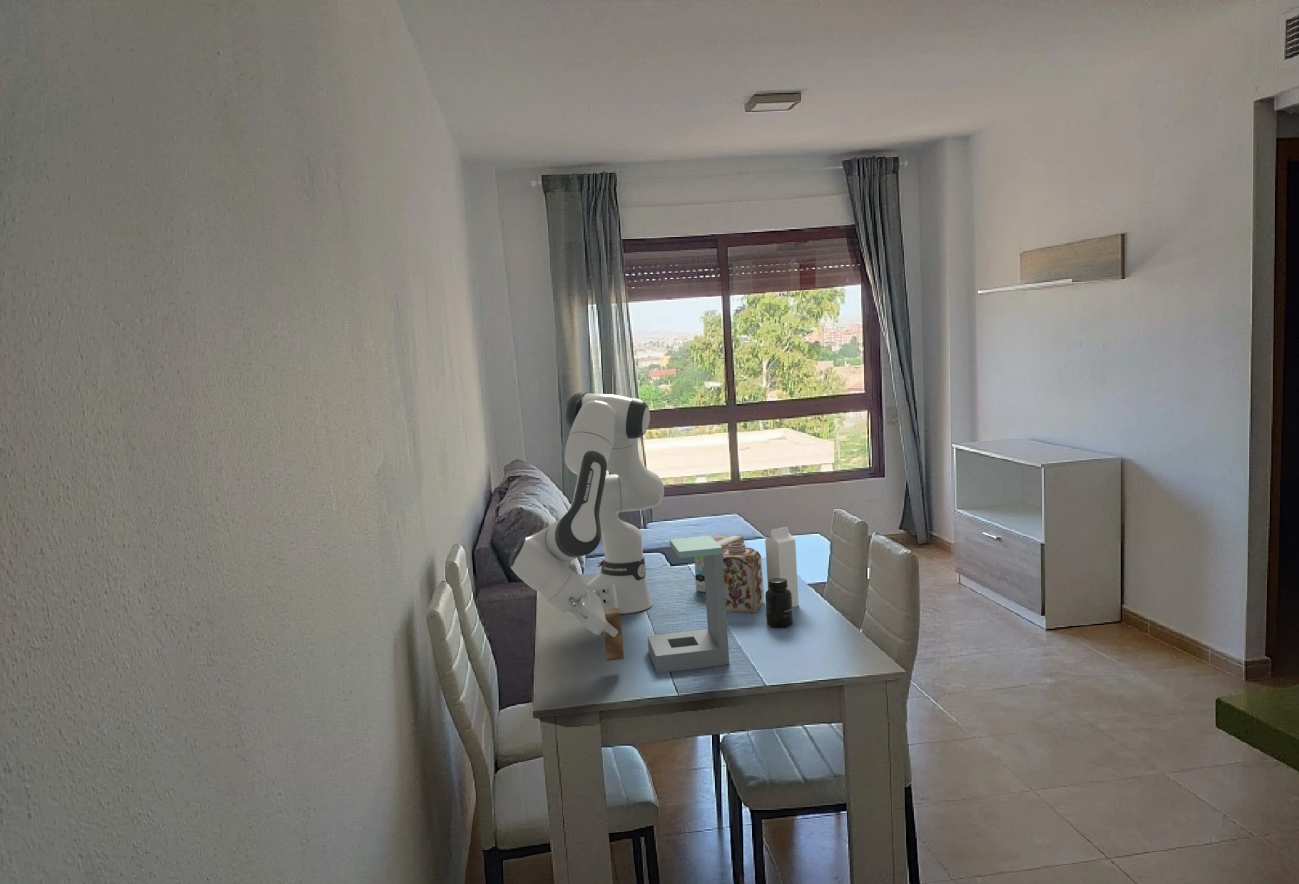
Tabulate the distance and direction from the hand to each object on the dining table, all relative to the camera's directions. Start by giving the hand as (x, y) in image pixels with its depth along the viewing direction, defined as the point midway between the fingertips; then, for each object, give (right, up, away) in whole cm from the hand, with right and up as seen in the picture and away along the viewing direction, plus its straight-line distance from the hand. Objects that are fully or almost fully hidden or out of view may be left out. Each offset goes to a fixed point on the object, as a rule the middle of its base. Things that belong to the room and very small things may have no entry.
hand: (615, 629), depth 202 cm
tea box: (+30, -1, +68) cm, 74 cm away
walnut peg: (0, -6, +1) cm, 6 cm away
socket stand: (+16, -8, +7) cm, 19 cm away
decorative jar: (+34, -3, +45) cm, 56 cm away
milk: (+46, -3, +44) cm, 63 cm away
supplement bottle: (+42, -5, +27) cm, 50 cm away
